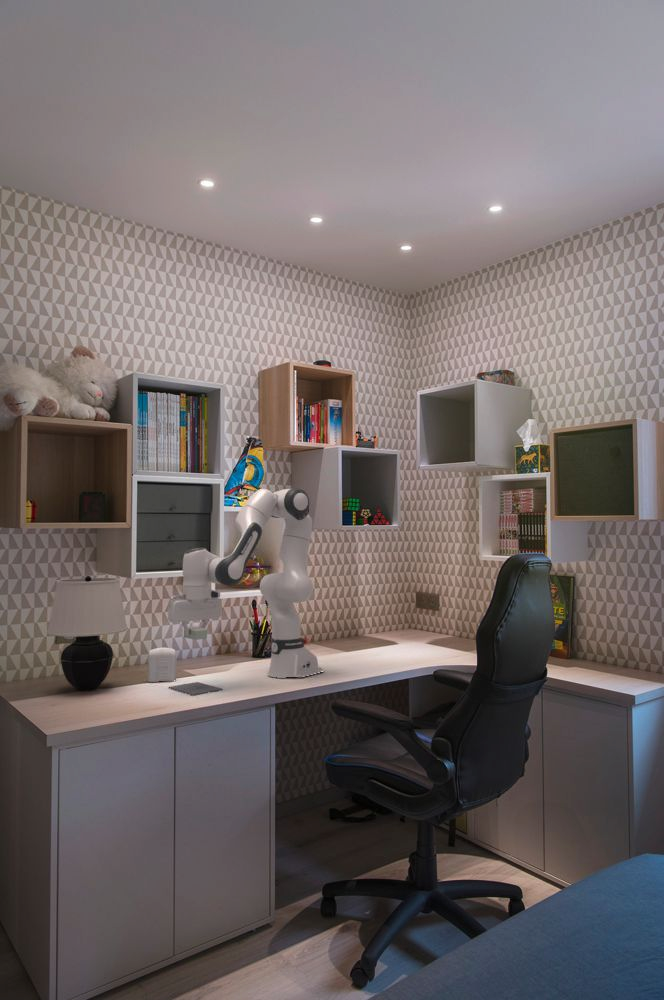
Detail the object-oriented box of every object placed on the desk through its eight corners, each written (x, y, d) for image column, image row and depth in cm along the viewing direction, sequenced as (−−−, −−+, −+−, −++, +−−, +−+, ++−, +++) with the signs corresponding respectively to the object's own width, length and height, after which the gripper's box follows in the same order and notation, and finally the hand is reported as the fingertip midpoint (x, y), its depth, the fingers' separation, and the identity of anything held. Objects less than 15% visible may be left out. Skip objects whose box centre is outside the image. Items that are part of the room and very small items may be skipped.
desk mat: (197, 683, 258) (197, 681, 258) (222, 690, 246) (222, 688, 246) (168, 688, 249) (168, 686, 249) (192, 695, 238) (192, 694, 238)
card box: (207, 638, 247) (207, 628, 247) (195, 639, 244) (195, 629, 244) (194, 636, 253) (194, 626, 253) (183, 637, 250) (183, 627, 250)
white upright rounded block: (176, 679, 265) (176, 646, 266) (176, 681, 261) (176, 648, 261) (147, 680, 262) (147, 647, 263) (147, 683, 258) (147, 649, 259)
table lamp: (118, 678, 267) (119, 572, 268) (134, 692, 243) (135, 576, 245) (41, 686, 254) (43, 575, 256) (51, 702, 230) (52, 579, 232)
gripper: (173, 596, 240) (173, 637, 239) (224, 592, 254) (224, 631, 253) (164, 595, 244) (164, 635, 244) (214, 591, 258) (214, 629, 258)
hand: (195, 633), depth 249 cm, fingers closed on card box, 4 cm apart
